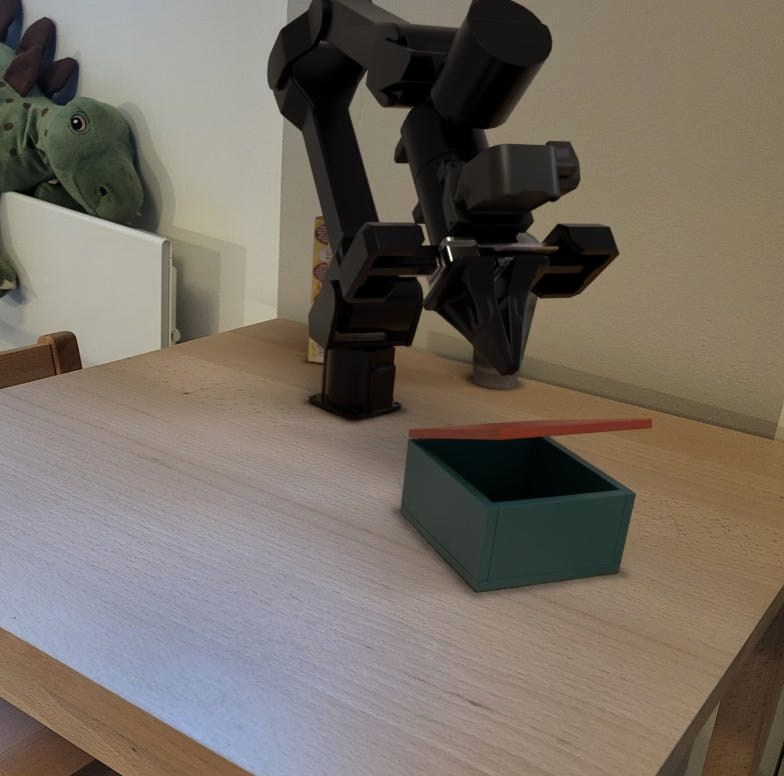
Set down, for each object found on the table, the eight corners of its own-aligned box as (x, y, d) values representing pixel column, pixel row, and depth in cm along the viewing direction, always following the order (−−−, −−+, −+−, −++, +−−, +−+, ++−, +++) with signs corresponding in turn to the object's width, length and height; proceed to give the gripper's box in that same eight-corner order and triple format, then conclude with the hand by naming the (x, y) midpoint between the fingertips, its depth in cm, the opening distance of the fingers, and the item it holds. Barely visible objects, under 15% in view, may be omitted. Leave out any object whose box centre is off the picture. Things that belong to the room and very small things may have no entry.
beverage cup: (525, 374, 99) (555, 181, 91) (533, 396, 92) (567, 189, 84) (457, 369, 99) (481, 176, 91) (461, 389, 93) (488, 183, 85)
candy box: (342, 367, 98) (353, 220, 91) (305, 362, 99) (313, 215, 93) (364, 347, 105) (376, 210, 99) (329, 342, 106) (338, 206, 100)
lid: (652, 428, 55) (652, 418, 55) (500, 440, 52) (499, 429, 52) (538, 428, 66) (538, 420, 66) (408, 437, 63) (408, 429, 63)
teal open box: (618, 573, 59) (636, 493, 57) (475, 592, 56) (488, 508, 54) (525, 499, 69) (538, 428, 67) (399, 512, 66) (407, 438, 63)
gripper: (369, 84, 55) (429, 312, 50) (631, 99, 60) (707, 304, 55) (318, 201, 65) (363, 401, 60) (546, 204, 70) (605, 387, 65)
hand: (510, 373), depth 60 cm, fingers closed
